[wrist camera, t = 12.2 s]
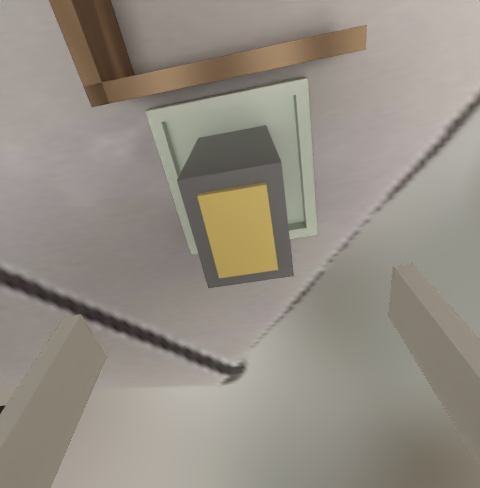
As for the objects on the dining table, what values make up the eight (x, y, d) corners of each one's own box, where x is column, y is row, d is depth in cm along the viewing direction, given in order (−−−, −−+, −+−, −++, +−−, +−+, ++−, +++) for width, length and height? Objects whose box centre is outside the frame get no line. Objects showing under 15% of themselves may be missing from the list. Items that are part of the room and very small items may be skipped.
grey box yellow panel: (217, 218, 31) (208, 291, 21) (198, 137, 27) (175, 182, 17) (276, 208, 30) (294, 279, 21) (266, 125, 26) (282, 164, 17)
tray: (193, 245, 33) (191, 255, 32) (150, 108, 26) (145, 111, 25) (313, 226, 32) (317, 234, 31) (303, 76, 25) (307, 77, 23)
